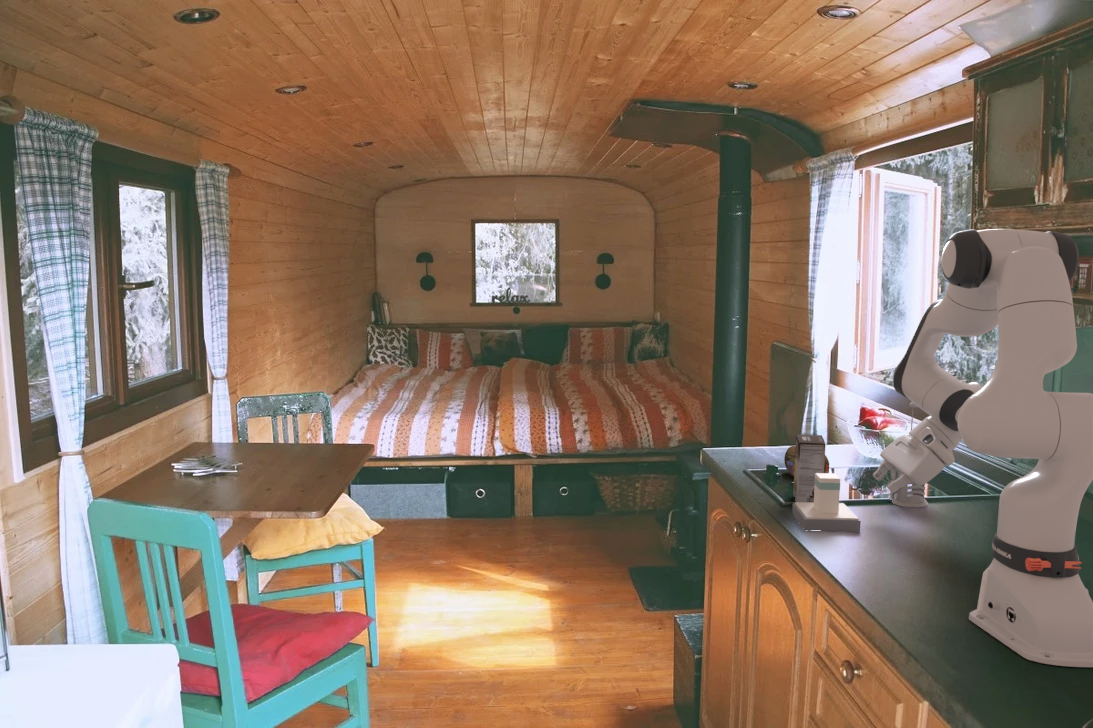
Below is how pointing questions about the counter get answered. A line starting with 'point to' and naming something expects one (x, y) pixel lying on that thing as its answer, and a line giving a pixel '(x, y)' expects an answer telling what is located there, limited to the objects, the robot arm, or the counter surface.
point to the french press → (904, 496)
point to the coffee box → (807, 465)
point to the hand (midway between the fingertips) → (882, 483)
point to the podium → (825, 518)
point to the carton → (826, 493)
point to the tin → (790, 461)
